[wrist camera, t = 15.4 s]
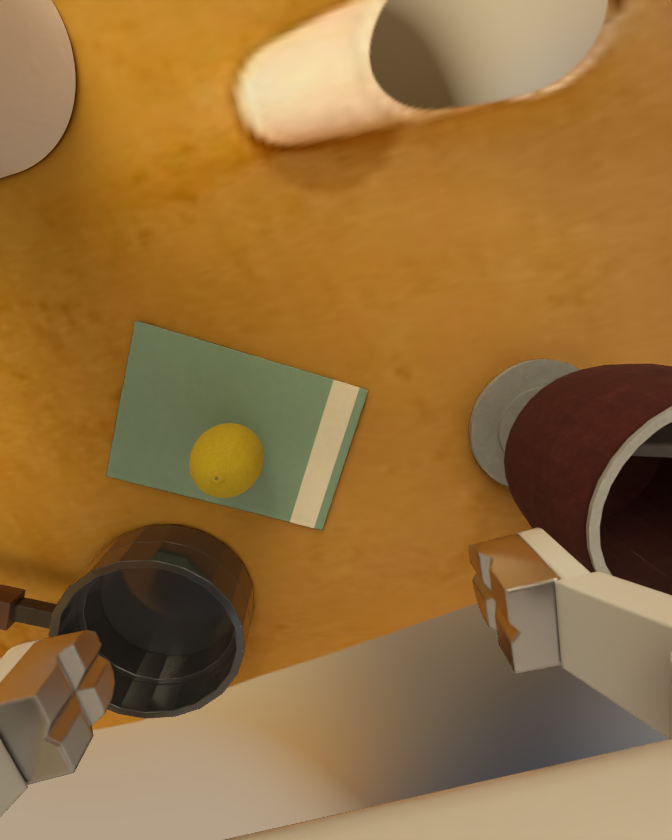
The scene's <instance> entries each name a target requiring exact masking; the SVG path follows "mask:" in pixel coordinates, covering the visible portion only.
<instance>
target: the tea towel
mask: <svg viewBox="0 0 672 840" xmlns="http://www.w3.org/2000/svg"><path fill="white" fill-rule="evenodd" d="M367 393H368V390H367V389H364V388H361V387H357V386H354V385H351V384H347V383H344V382H341V381H337V380H334V379H331V378H327V377H324V376H321V375H317V374H314V373H311V372H307V371H304V370H301V369H297V368H294V367H291V366H287V365H284V364H281V363H277V362H274V361H271V360H267V359H264V358H261V357H257V356H254V355H251V354H247V353H244V352H241V351H237V350H234V349H231V348H227V347H224V346H220V345H217V344H214V343H210V342H207V341H204V340H200V339H197V338H194V337H190V336H187V335H184V334H180V333H177V332H174V331H170V330H167V329H164V328H160V327H157V326H154V325H150V324H147V323H144V322H140V321H135V324H134V329H133V334H132V340H131V345H130V350H129V356H128V361H127V366H126V372H125V377H124V382H123V388H122V393H121V398H120V404H119V409H118V414H117V420H116V425H115V430H114V436H113V441H112V446H111V452H110V457H109V462H108V468H107V473H106V476H108V477H112V478H116V479H120V480H124V481H128V482H132V483H136V484H140V485H144V486H148V487H152V488H156V489H160V490H164V491H168V492H172V493H176V494H180V495H184V496H188V497H192V498H196V499H200V500H204V501H208V502H212V503H216V504H220V505H224V506H228V507H232V508H236V509H240V510H244V511H248V512H252V513H256V514H260V515H264V516H268V517H272V518H276V519H280V520H284V521H288V522H291V523H295V524H299V525H303V526H307V527H311V528H316V529H320V530H322V529H323V526H324V523H325V520H326V517H327V514H328V511H329V508H330V505H331V502H332V499H333V496H334V493H335V490H336V487H337V484H338V481H339V478H340V475H341V472H342V469H343V466H344V463H345V460H346V456H347V453H348V450H349V447H350V444H351V441H352V438H353V435H354V432H355V429H356V426H357V423H358V420H359V417H360V414H361V411H362V408H363V405H364V402H365V399H366V396H367ZM224 423H235V424H240V425H242V426H245V427H247V428H248V429H250V430H251V431H253V432H254V434H255V435H256V436H257V437H258V438H259V440H260V442H261V444H262V448H263V452H264V463H263V467H262V470H261V473H260V475H259V477H258V478H257V480H256V481H255V483H254V484H253V485H252V486H251V487H250V488H249V489H247V490H246V491H245V492H243V493H241V494H239V495H237V496H234V497H230V498H217V497H212V496H210V495H208V494H206V493H204V492H203V491H202V490H200V489H199V488H198V487H197V485H196V484H195V483H194V481H193V479H192V476H191V474H190V468H189V461H190V454H191V451H192V449H193V446H194V444H195V442H196V441H197V440H198V438H199V437H200V436H201V435H202V434H203V433H204V432H205V431H207V430H208V429H210V428H211V427H214V426H216V425H219V424H224Z"/></svg>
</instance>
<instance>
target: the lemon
mask: <svg viewBox="0 0 672 840" xmlns="http://www.w3.org/2000/svg"><path fill="white" fill-rule="evenodd" d="M263 463H264V452H263V448H262V444H261V442H260V440H259V438H258V437H257V436H256V435H255V434H254V432H253V431H251V430H250V429H248V428H247V427H245V426H242V425H240V424H235V423H224V424H219V425H216V426H214V427H211V428H210V429H208V430H207V431H205V432H204V433H203V434H202V435H201V436H200V437H199V438H198V440H197V441H196V442H195V444H194V446H193V449H192V451H191V454H190V461H189V468H190V474H191V476H192V479H193V481H194V483H195V484H196V485H197V487H198V488H199V489H200V490H202V491H203V492H204V493H206V494H208V495H210V496H212V497H217V498H230V497H234V496H237V495H239V494H241V493H243V492H245V491H246V490H247V489H249V488H250V487H251V486H252V485H253V484H254V483H255V481H256V480H257V478H258V477H259V475H260V473H261V470H262V467H263Z"/></svg>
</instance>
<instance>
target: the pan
mask: <svg viewBox="0 0 672 840" xmlns="http://www.w3.org/2000/svg"><path fill="white" fill-rule="evenodd" d="M253 609H254V599H253V586H252V582H251V580H250V578H249V576H248V574H247V572H246V569H245V567H244V565H243V563H242V562H241V561H240V560H239V559H238V558H237V557H236V555H235V554H234V553H233V552H232V551H231V550H230V549H229V548H228V547H227V546H226V545H225V544H223V543H222V542H220V541H218V540H216V539H215V538H213V537H211V536H209V535H207V534H206V533H204V532H202V531H198V530H194V529H190V528H186V527H182V526H177V525H163V526H146V527H143V528H141V529H138V530H135V531H132V532H129V533H126V534H123V535H121V536H120V537H118V538H117V539H116V540H115V541H113V542H112V543H111V544H109V545H108V546H107V547H105V548H104V549H103V550H102V551H101V552H100V553H99V554H98V555H97V556H96V557H95V558H94V559H93V561H92V562H91V563H90V564H89V565H88V566H87V567H86V568H85V569H84V570H83V572H82V573H81V574H80V575H79V576H78V577H77V578H76V579H75V580H74V581H73V583H72V584H71V585H70V586H69V587H68V588H67V589H66V591H65V592H64V594H63V596H62V597H61V599H60V600H59V602H58V604H57V605H56V607H55V608H54V610H53V613H52V619H51V625H50V631H49V637H54V636H59V635H64V634H69V633H74V632H79V631H84V630H90V631H93V632H96V634H97V636H98V638H99V640H100V642H101V644H102V645H101V648H100V651H99V654H98V655H100V656H102V657H103V658H105V659H106V660H108V661H109V662H110V664H111V667H112V669H113V672H114V679H115V685H114V691H113V697H112V700H111V702H110V704H109V706H108V708H107V709H109V710H111V711H113V712H115V713H117V714H123V715H128V716H134V717H140V718H160V717H174V716H178V715H181V714H184V713H187V712H190V711H194V710H197V709H200V708H202V707H203V706H204V705H206V704H208V703H209V702H210V701H212V700H214V699H215V698H216V697H218V696H220V695H221V694H222V693H223V692H224V691H225V690H226V688H227V687H228V686H229V684H230V683H231V682H232V681H233V679H234V678H235V677H236V675H237V674H238V671H239V668H240V665H241V662H242V658H243V655H244V652H245V647H246V642H247V638H248V633H249V628H250V623H251V618H252V614H253Z"/></svg>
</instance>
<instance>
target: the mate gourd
mask: <svg viewBox="0 0 672 840" xmlns="http://www.w3.org/2000/svg"><path fill="white" fill-rule="evenodd" d="M469 440H470V447H471V449H472V452H473V455H474V457H475V459H476V461H477V462H478V464H479V465H480V467H481V468H482V469H483V470H484V471H485V472H486V473H487V474H488V475H489V476H490V477H491V478H493V479H494V480H496V481H497V482H499V483H501V484H503V485H505V486H508V487H509V489H510V492H511V494H512V496H513V498H514V500H515V502H516V504H517V505H518V507H519V509H520V510H521V512H522V514H523V515H524V517H525V518H526V519H527V521H528V522H529V524H530V525H531V527H532V528H533V529H534V528H540V529H543V530H544V531H545V532H546V533H547V534H548V535H550V536H551V537H552V538H553V539H554V540H555V541H556V542H557V543H558V544H559V545H561V546H562V547H563V548H564V549H565V550H566V551H567V552H568V553H569V554H571V555H572V556H573V557H574V558H575V559H576V560H577V561H578V562H579V563H581V564H582V565H583V566H584V567H585V568H586V569H587V570H588V571H589V572H590V573H592V572H597V571H599V572H602V573H605V574H608V575H611V576H614V577H617V578H620V579H623V580H626V581H629V582H633V583H636V584H639V585H642V586H645V587H648V588H651V589H654V590H657V591H660V592H663V593H666V594H669V595H672V367H671V366H664V365H657V364H620V365H603V366H598V367H593V368H588V369H583V370H580V369H578V368H577V367H575V366H573V365H570V364H568V363H566V362H561V361H556V360H551V359H534V360H530V361H525V362H521V363H519V364H516V365H514V366H512V367H509V368H508V369H506V370H505V371H503V372H502V373H500V374H499V375H497V376H496V377H495V378H494V379H493V380H492V381H491V382H490V383H489V384H488V385H487V386H486V387H485V389H484V390H483V391H482V393H481V394H480V395H479V397H478V399H477V401H476V403H475V405H474V407H473V410H472V414H471V417H470V422H469Z"/></svg>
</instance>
